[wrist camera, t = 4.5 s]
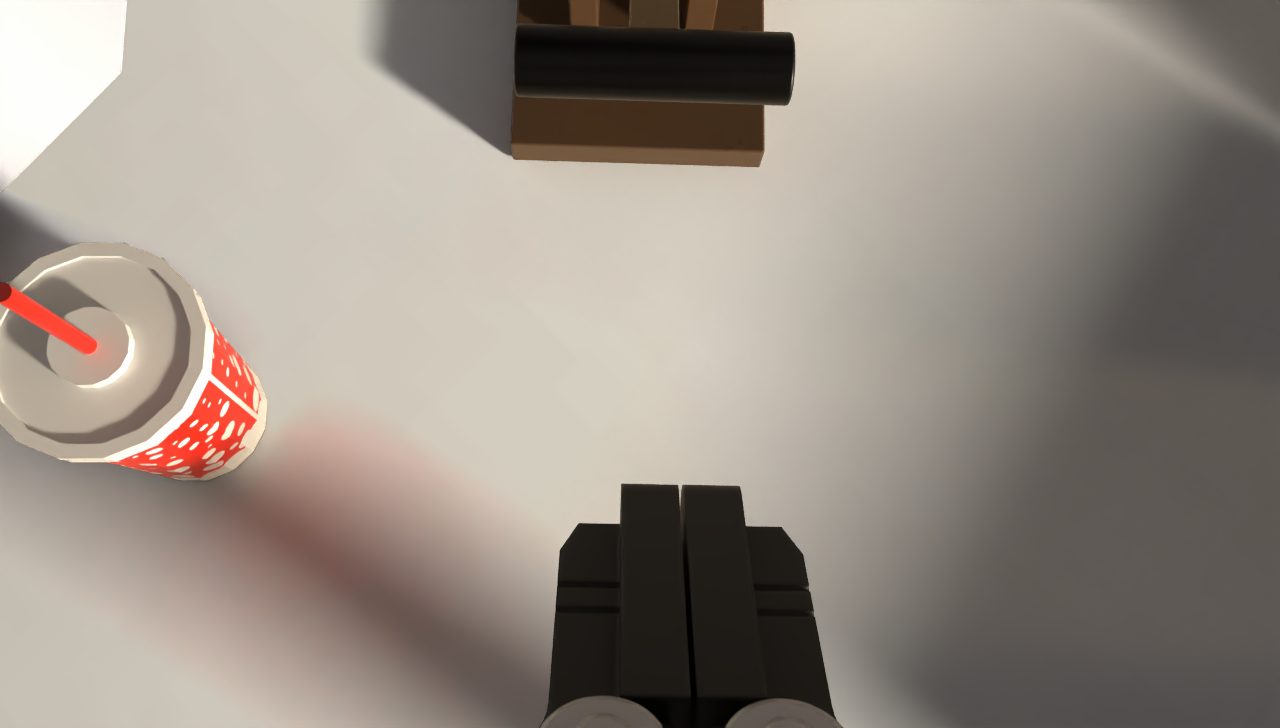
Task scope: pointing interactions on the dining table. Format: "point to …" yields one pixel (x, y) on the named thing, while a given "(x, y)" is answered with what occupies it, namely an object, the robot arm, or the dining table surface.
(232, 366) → the beverage cup
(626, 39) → the wooden lever handle
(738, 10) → the lever base
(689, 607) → the robot arm
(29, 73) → the bottle
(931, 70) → the dining table surface
